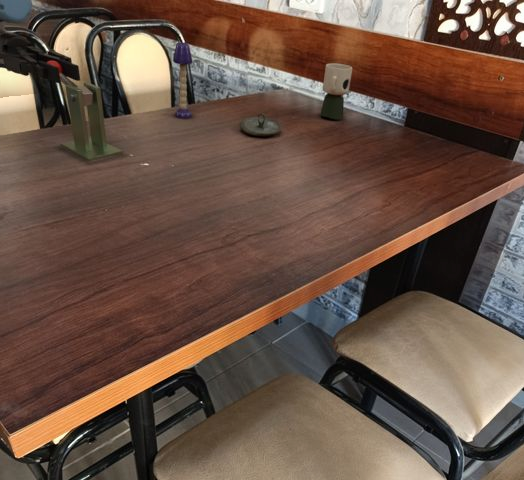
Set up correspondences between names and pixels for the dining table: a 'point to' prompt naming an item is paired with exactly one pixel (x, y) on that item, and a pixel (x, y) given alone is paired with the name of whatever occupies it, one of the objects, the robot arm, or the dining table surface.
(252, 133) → the lid
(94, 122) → the stand
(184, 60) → the toy lamp
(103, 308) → the dining table surface
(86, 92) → the lever
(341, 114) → the character mug
